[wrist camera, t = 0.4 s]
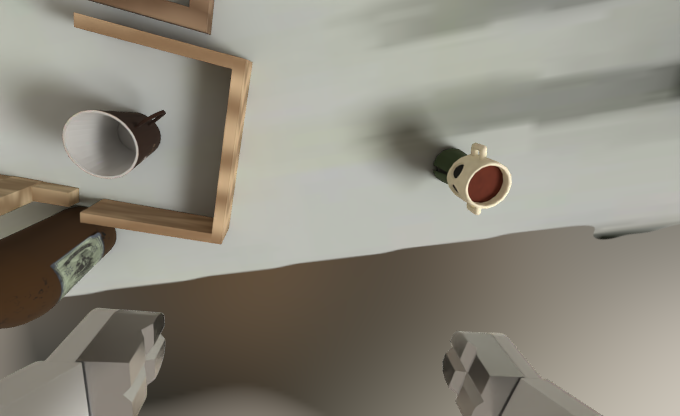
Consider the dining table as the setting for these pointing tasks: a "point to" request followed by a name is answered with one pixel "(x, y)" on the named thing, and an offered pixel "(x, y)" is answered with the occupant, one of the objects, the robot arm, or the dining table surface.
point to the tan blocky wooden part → (33, 193)
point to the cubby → (218, 226)
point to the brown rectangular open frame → (170, 12)
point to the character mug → (473, 177)
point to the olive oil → (47, 263)
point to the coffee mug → (110, 141)
